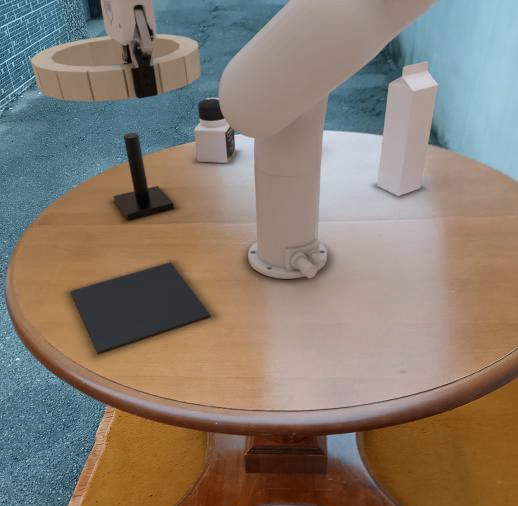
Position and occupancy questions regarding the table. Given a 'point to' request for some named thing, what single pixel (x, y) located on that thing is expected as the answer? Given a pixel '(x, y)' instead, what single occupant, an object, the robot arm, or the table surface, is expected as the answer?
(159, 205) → the post
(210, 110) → the medicine bottle
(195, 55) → the hoop
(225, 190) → the table surface
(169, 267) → the mat
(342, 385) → the table surface
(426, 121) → the milk
